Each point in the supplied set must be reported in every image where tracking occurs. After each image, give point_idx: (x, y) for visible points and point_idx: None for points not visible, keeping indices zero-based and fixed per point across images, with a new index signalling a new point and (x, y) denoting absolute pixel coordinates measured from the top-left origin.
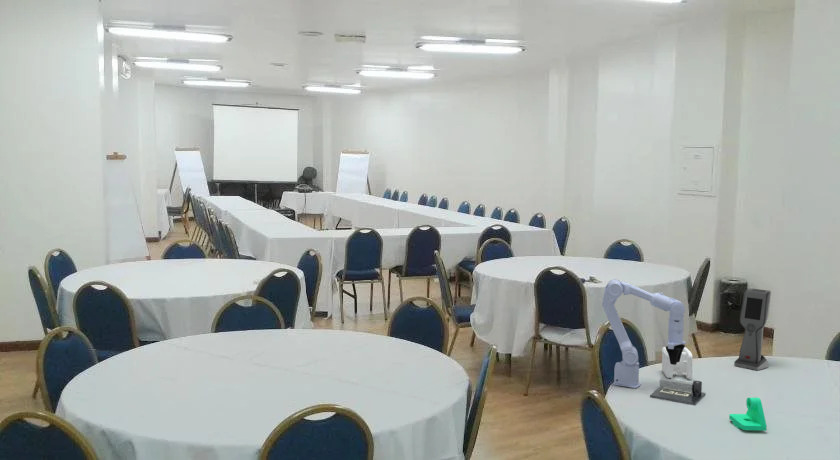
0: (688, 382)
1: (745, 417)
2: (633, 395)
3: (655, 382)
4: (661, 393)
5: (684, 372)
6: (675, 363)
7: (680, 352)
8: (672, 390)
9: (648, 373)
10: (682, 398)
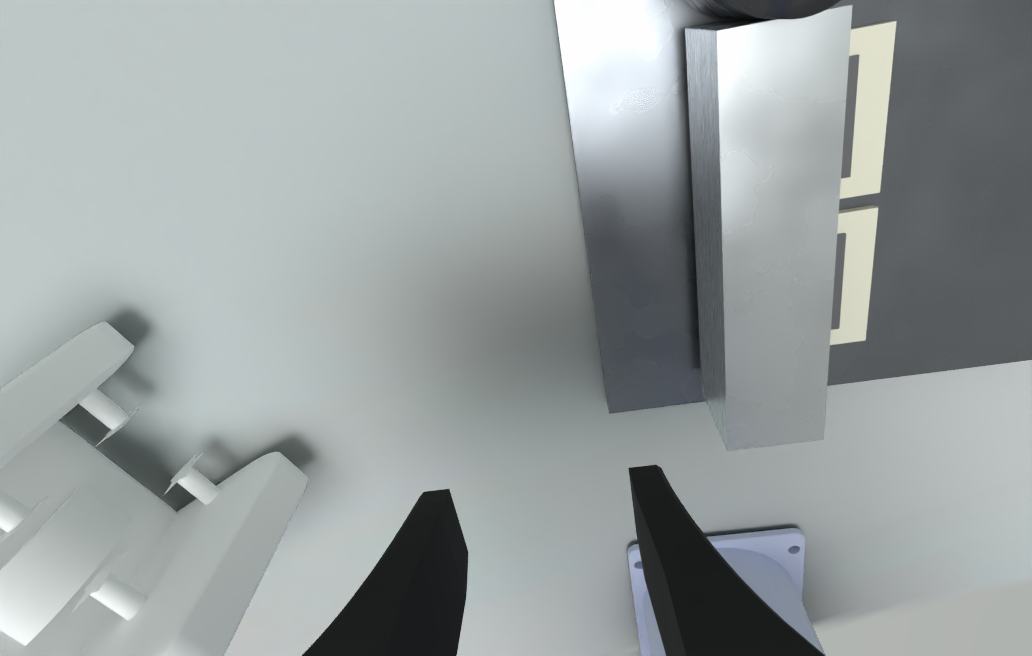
0: (742, 114)
1: None
2: (1026, 464)
3: (482, 496)
4: (905, 305)
5: (57, 430)
6: (667, 485)
7: (393, 650)
8: None
9: (279, 617)
10: (1006, 36)
